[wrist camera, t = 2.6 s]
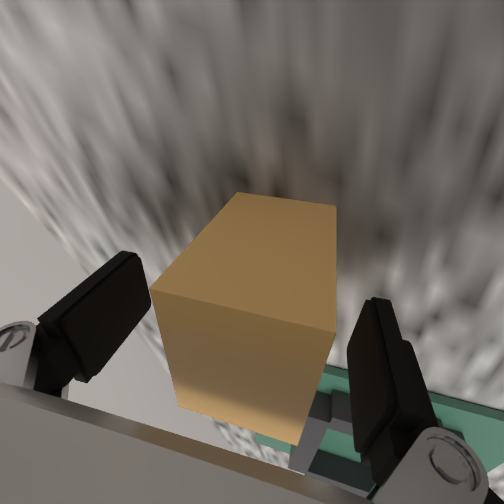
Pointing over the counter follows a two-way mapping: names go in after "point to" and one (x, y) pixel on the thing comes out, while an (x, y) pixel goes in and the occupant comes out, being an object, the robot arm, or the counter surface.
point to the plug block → (252, 313)
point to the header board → (342, 444)
